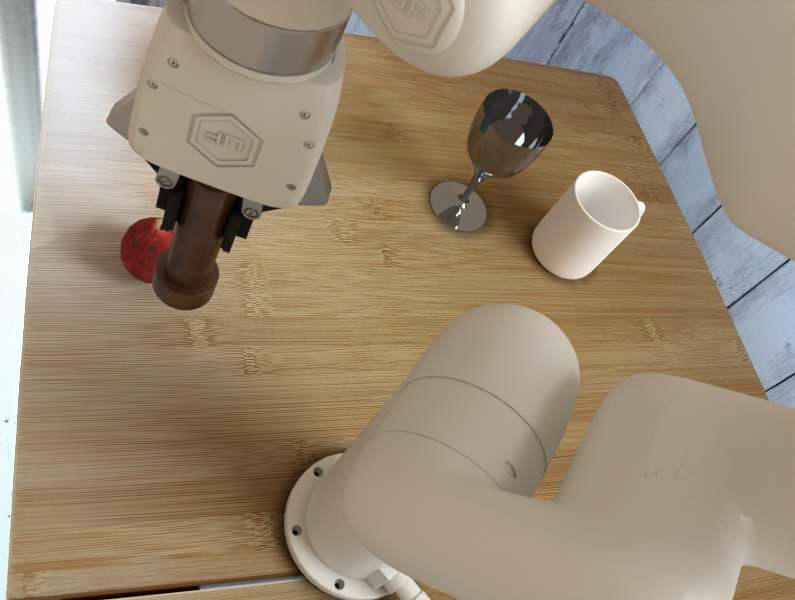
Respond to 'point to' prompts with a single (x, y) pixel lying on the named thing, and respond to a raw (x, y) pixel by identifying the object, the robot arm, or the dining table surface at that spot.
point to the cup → (586, 225)
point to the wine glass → (494, 154)
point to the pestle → (193, 248)
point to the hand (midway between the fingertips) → (202, 223)
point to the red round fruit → (144, 247)
